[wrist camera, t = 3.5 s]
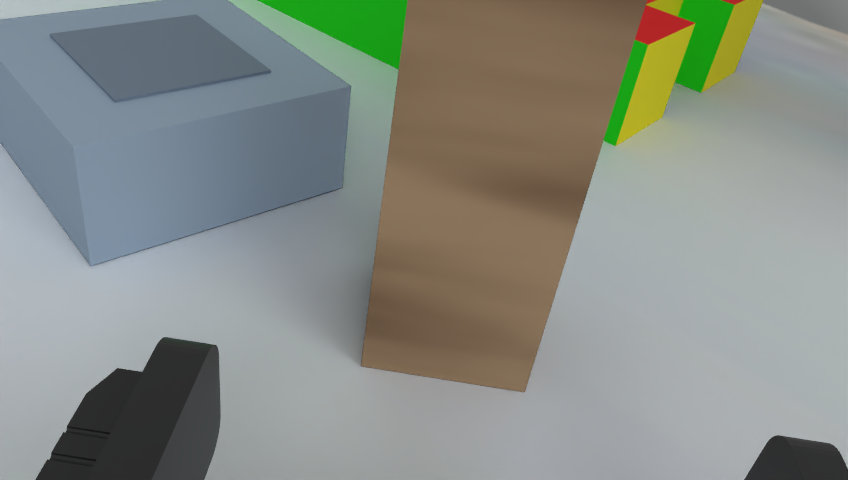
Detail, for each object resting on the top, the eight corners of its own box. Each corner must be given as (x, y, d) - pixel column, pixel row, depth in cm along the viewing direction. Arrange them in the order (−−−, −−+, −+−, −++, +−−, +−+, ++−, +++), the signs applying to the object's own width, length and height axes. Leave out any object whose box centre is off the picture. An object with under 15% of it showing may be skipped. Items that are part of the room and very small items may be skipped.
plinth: (220, 86, 33) (218, -9, 30) (341, 187, 28) (351, 83, 25) (-9, 130, 28) (-32, 20, 25) (90, 265, 22) (72, 143, 20)
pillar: (381, 265, 24) (438, -147, 17) (520, 288, 24) (632, -114, 17) (360, 366, 21) (420, -105, 14) (524, 391, 21) (667, -64, 14)
